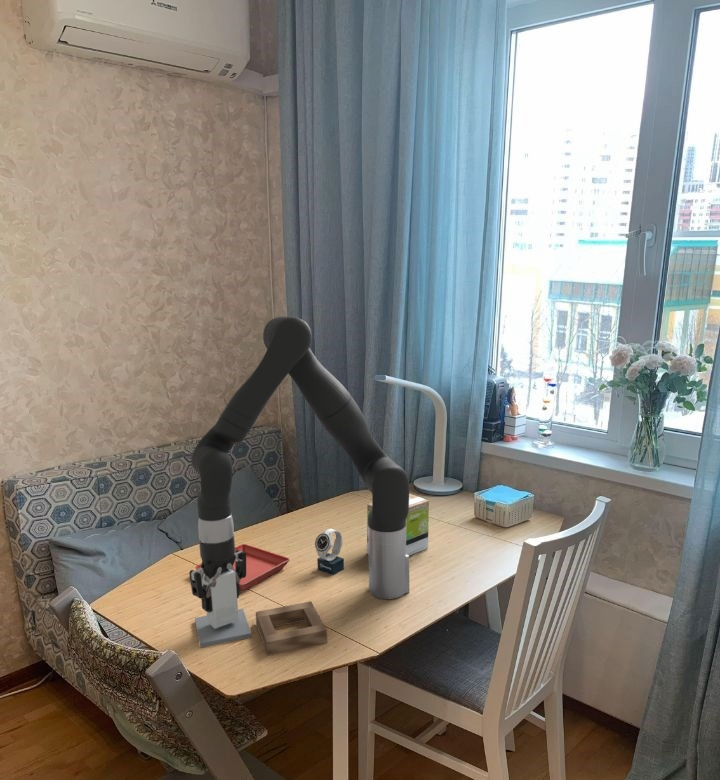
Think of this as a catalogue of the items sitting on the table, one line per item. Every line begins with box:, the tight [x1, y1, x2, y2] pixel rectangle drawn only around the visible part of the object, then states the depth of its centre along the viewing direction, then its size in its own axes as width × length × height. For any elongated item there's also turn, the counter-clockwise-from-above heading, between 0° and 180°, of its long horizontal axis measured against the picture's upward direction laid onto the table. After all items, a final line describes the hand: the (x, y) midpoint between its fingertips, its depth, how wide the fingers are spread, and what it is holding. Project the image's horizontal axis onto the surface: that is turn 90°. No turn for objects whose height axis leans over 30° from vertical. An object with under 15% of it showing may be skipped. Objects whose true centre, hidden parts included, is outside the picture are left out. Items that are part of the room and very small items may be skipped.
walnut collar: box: [255, 601, 328, 656], centre depth 148 cm, size 13×13×3 cm
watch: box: [314, 528, 345, 576], centre depth 176 cm, size 6×8×11 cm
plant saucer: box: [195, 543, 291, 591], centre depth 177 cm, size 18×18×3 cm
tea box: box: [366, 493, 430, 557], centre depth 186 cm, size 15×10×15 cm, turn 131°
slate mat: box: [194, 608, 252, 648], centre depth 150 cm, size 11×11×1 cm
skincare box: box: [202, 570, 239, 629], centre depth 148 cm, size 6×4×12 cm
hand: (221, 604), depth 149 cm, fingers closed on skincare box, 6 cm apart
